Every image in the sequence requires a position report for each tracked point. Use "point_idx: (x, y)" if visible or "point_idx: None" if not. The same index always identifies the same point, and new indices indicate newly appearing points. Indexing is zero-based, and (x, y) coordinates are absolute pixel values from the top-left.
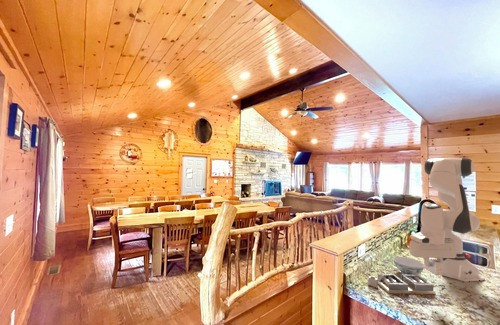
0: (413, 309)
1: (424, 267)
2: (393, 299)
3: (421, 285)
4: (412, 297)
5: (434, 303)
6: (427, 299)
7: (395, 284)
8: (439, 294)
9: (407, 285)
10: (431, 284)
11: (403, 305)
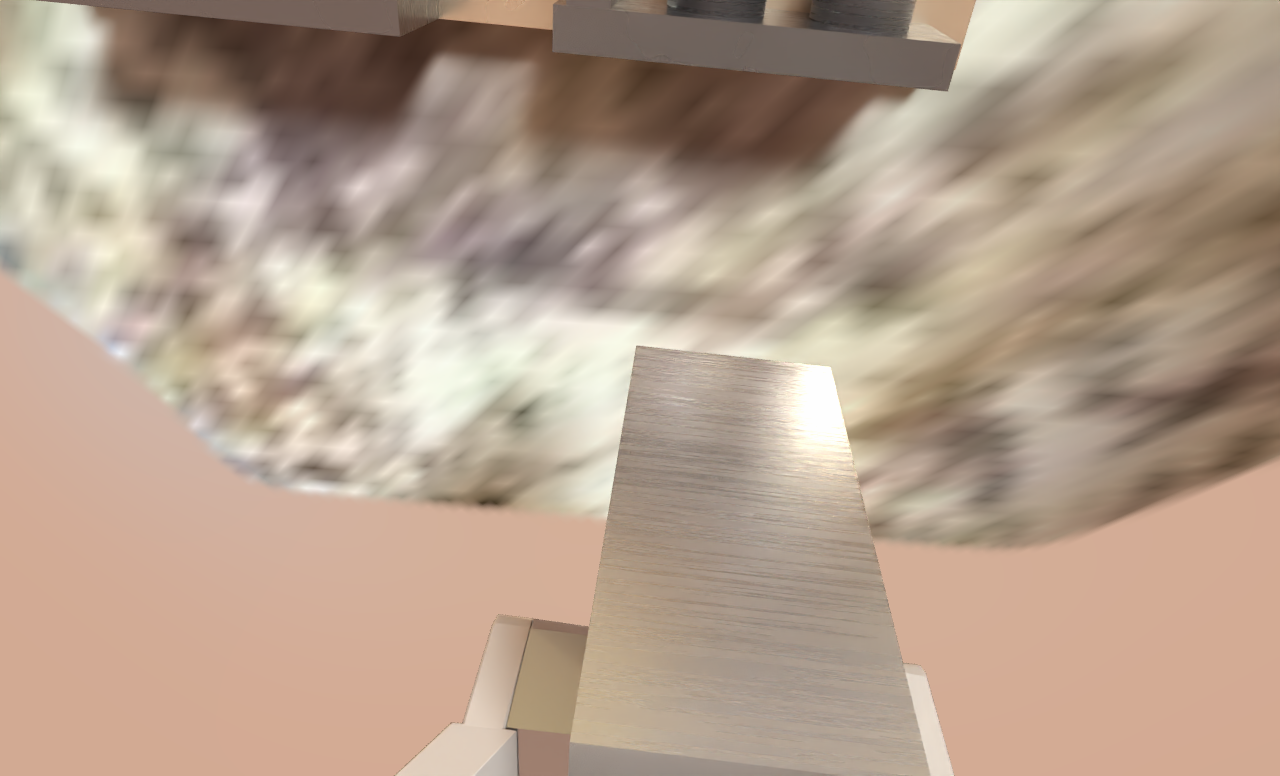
0: (301, 359)
1: (634, 375)
2: (135, 160)
3: (687, 62)
4: (452, 129)
5: (664, 281)
6: (648, 192)
7: (135, 9)
8: (1006, 69)
9: (393, 31)
10: (933, 61)
11: (218, 288)
